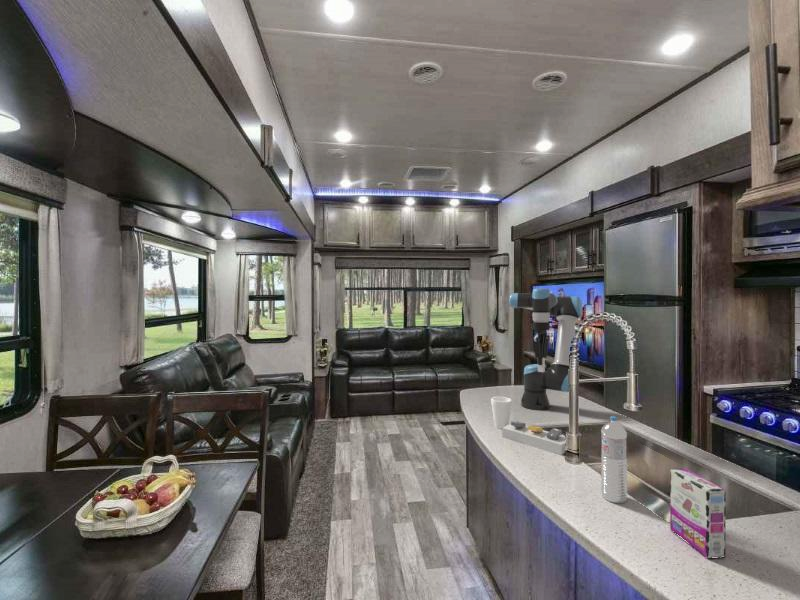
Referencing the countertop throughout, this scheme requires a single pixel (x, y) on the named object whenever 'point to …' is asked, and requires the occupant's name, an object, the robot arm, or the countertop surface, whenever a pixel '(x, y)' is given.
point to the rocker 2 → (554, 433)
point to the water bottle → (614, 462)
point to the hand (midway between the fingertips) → (541, 371)
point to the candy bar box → (698, 512)
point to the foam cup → (501, 411)
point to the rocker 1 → (518, 424)
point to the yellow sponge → (535, 428)
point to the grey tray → (536, 439)
